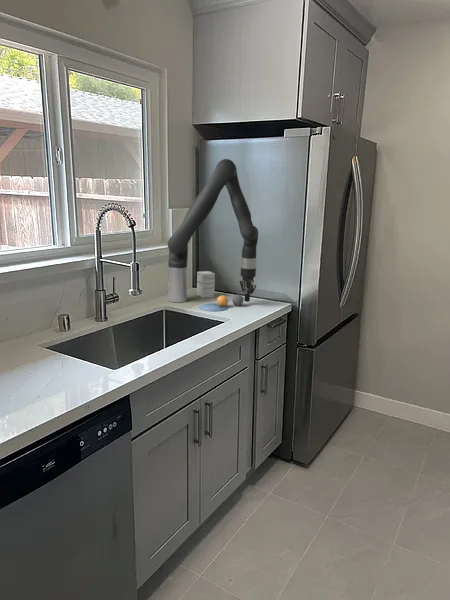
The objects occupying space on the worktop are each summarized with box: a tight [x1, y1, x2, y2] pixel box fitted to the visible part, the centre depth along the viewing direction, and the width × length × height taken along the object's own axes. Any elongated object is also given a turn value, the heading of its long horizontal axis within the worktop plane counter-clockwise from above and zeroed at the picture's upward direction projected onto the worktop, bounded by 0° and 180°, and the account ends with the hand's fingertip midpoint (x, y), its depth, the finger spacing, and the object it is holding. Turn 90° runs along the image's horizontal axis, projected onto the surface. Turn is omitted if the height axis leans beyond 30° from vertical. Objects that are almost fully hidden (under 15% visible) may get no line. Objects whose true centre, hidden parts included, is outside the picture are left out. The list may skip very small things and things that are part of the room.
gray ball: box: [231, 294, 244, 307], centre depth 225 cm, size 6×6×6 cm
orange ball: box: [216, 295, 229, 307], centre depth 223 cm, size 6×6×6 cm
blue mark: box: [198, 303, 229, 312], centre depth 221 cm, size 14×14×1 cm
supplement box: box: [196, 270, 216, 299], centre depth 242 cm, size 7×7×13 cm
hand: (246, 301), depth 229 cm, fingers closed
